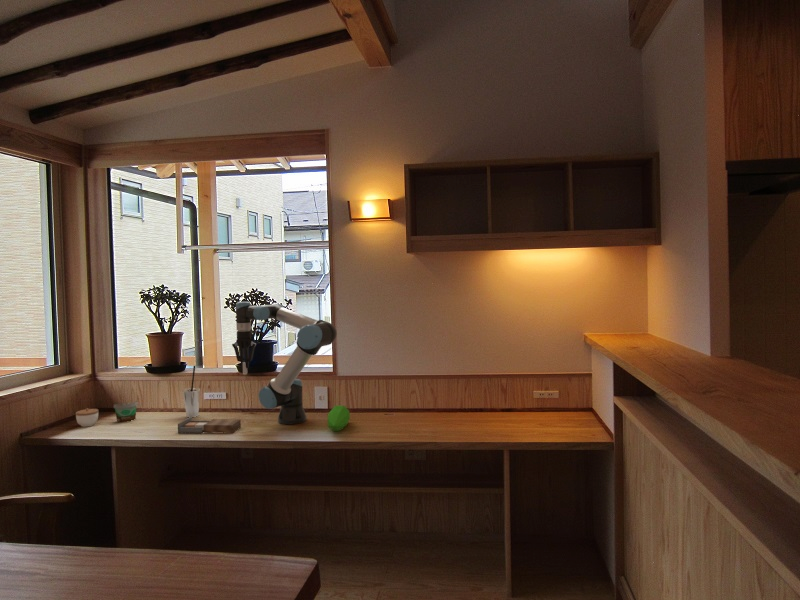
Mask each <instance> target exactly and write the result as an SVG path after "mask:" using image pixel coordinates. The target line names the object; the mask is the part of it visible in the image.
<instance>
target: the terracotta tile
mask: <svg viewBox="0 0 800 600" xmlns="http://www.w3.org/2000/svg"><path fill="white" fill-rule="evenodd" d="M196 424H198V422H189V423H187V424H186V425H185V427H195V425H196Z"/></svg>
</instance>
